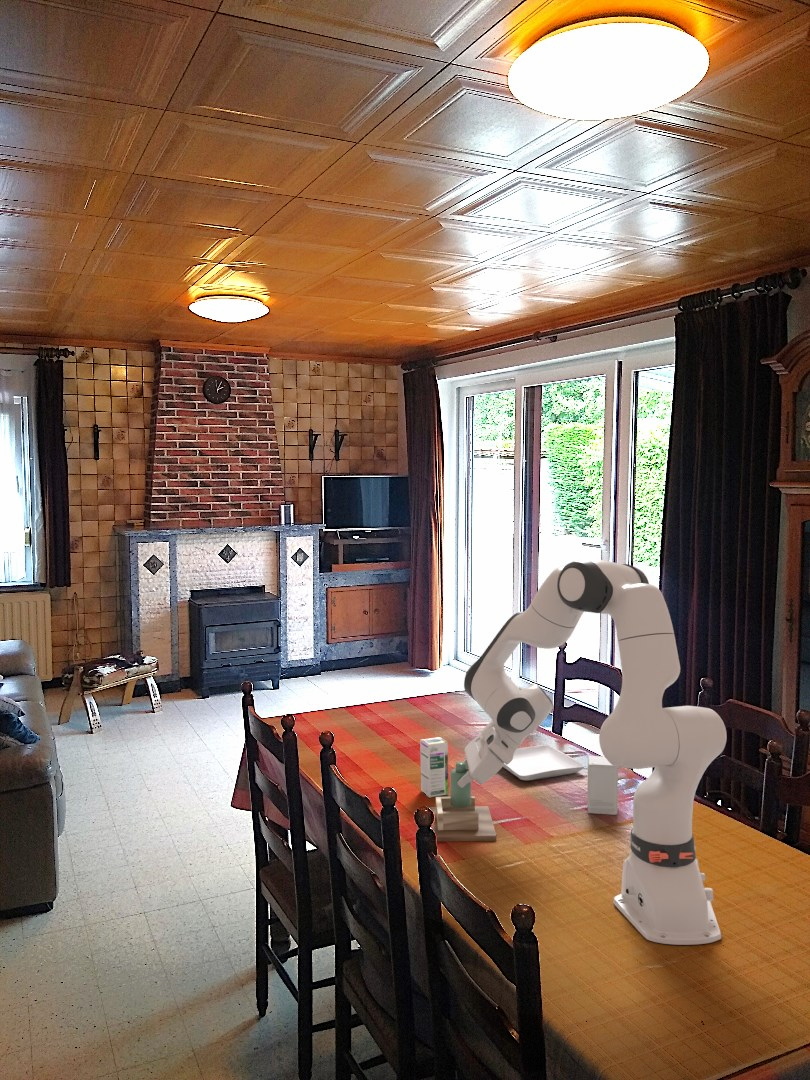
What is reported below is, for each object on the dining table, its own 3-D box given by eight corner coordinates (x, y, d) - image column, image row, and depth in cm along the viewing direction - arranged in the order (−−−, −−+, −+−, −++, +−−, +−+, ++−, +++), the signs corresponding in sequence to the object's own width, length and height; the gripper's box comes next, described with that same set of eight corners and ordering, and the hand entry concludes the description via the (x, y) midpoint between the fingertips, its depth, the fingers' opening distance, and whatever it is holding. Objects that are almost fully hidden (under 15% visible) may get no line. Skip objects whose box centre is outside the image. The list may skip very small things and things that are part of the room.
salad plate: (587, 776, 245) (587, 764, 244) (521, 787, 237) (521, 774, 237) (548, 754, 264) (548, 743, 264) (485, 763, 257) (485, 752, 256)
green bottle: (472, 807, 208) (471, 766, 207) (451, 808, 208) (450, 767, 207) (470, 799, 213) (470, 759, 212) (450, 800, 213) (449, 760, 212)
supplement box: (618, 815, 215) (618, 765, 215) (587, 813, 217) (587, 764, 216) (616, 804, 223) (617, 756, 222) (587, 802, 224) (587, 754, 223)
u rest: (496, 840, 202) (496, 818, 201) (427, 841, 201) (427, 819, 201) (488, 810, 219) (488, 790, 219) (425, 811, 219) (424, 791, 219)
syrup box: (429, 798, 229) (428, 744, 227) (420, 790, 234) (419, 738, 233) (448, 795, 231) (448, 741, 230) (439, 787, 236) (439, 735, 235)
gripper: (484, 718, 219) (446, 757, 220) (493, 744, 199) (451, 786, 200) (502, 735, 220) (463, 774, 220) (513, 762, 199) (471, 805, 200)
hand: (458, 780), depth 210 cm, fingers closed on green bottle, 5 cm apart
